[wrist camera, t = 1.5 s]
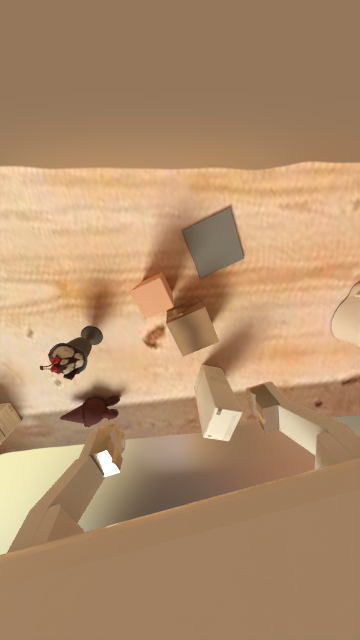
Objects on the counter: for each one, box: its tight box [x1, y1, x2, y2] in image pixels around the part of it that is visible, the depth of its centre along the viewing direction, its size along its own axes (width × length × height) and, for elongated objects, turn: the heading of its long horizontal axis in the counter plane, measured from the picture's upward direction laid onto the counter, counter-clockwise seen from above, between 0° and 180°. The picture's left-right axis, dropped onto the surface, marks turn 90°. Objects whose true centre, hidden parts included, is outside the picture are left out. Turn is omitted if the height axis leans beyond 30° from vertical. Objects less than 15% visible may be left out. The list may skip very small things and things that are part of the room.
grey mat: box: [182, 208, 244, 278], centre depth 34 cm, size 10×10×1 cm
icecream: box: [60, 397, 120, 427], centre depth 44 cm, size 7×7×15 cm
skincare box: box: [194, 364, 242, 441], centre depth 39 cm, size 8×6×15 cm
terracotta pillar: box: [130, 272, 174, 319], centre depth 31 cm, size 5×5×12 cm
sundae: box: [40, 327, 102, 380], centre depth 33 cm, size 7×7×15 cm
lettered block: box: [166, 298, 219, 356], centre depth 36 cm, size 8×8×8 cm
